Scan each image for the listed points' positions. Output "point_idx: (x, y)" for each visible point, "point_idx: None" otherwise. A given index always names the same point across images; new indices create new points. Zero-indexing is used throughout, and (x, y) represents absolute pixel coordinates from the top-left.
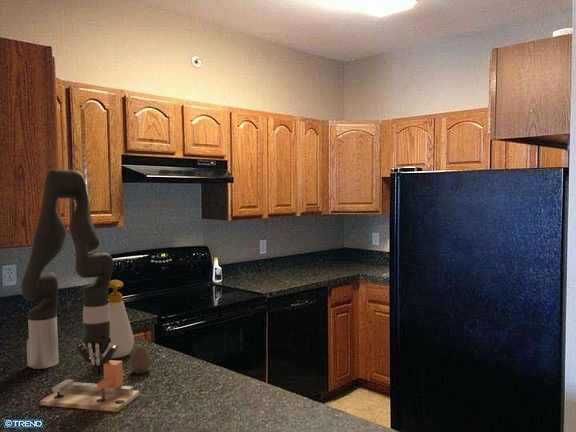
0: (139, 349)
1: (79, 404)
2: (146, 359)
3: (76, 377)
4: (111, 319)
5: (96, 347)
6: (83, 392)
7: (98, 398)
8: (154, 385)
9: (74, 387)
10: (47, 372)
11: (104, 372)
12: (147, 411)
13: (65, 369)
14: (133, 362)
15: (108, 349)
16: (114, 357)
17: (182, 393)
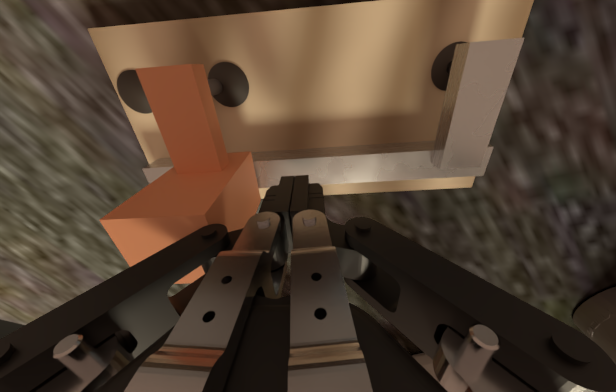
0: None
1: (295, 9)
2: None
3: (470, 257)
4: None
5: (183, 380)
6: (361, 140)
7: (256, 101)
8: None
9: (413, 146)
10: (589, 269)
11: (222, 183)
12: (7, 74)
13: (532, 292)
14: None
15: (58, 360)
16: (416, 356)
17: (64, 230)
